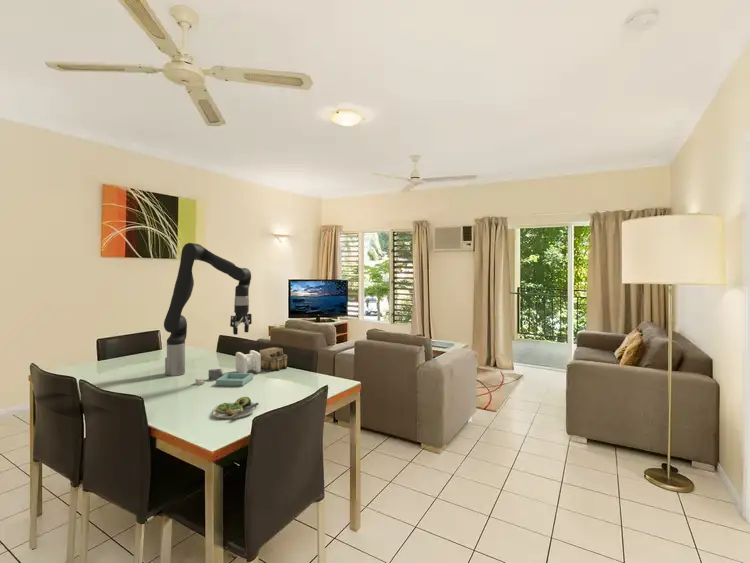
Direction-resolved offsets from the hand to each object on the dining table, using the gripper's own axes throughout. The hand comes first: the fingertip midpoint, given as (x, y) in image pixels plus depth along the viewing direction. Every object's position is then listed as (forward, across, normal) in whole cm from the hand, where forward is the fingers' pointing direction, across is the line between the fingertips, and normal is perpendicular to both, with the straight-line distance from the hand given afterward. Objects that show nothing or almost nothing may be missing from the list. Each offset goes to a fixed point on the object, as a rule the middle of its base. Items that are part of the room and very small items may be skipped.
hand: (240, 333), depth 215 cm
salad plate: (+24, +43, +35) cm, 61 cm away
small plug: (+25, +19, -10) cm, 33 cm away
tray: (+24, +9, +5) cm, 26 cm away
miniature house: (+24, -23, +4) cm, 34 cm away
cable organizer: (+24, -9, -2) cm, 26 cm away
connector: (+24, +9, -9) cm, 28 cm away
